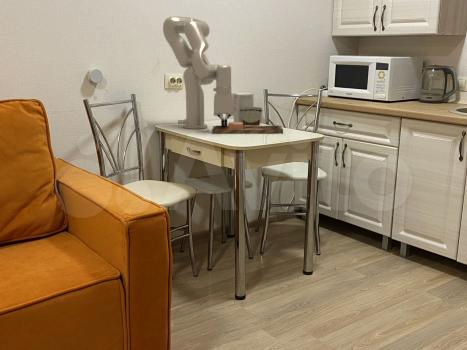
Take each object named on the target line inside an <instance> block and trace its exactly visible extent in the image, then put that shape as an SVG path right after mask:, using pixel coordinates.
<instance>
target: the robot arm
mask: <svg viewBox="0 0 467 350" xmlns="http://www.w3.org/2000/svg"><path fill="white" fill-rule="evenodd" d="M162 32H163V36H164V38H165V40H166V42H167V43H168V45H169V47H170V49H171V50H172V53H173V54H174V56H175V59H176V60H177V62H178V63H179V66H180V67H181V68H183V69H185V70H184V71H183V83H184V87H185V110H186V111H185V117H186V118H185V119H178V120H177V123H178V124H179V125H181V124H182V125H183V128H184V129H190V130H191V129H192V130H198V129H206V128H208V125H207V124H206V123H205V93H204V89H203V88H202V86H206V85H210V84H212V83H213V82H214V81H216V82H215V84H216V85H215V88H213V89H212V90H213V92H215V93H214V97H213V116H215V117H218V118H219V119H220V121H221V122H220V124H221V125H220V126H223V128H224V127H225V128H226V126H228V120H229V118H230V117H234V115H235V113H234V95H233V94H234V93H232V67H231V66H230V65H227V64H226V65H225V64H224V65H220V64H210V61H209V59H208V58H207V56H206V54H205V52H206V51H207V50H208V49H209V46H210V45H209V43H208V41H207V37H208V36H209V34H210V26H209V25H208V23H206V21H204V20H200V19H197V18H193V17H190V16H169V17H167V18H165V20H164V21H163V25H162ZM180 34H184V35H185V36H186V37H185V38H186V39H187V41H188V43H189V45H190V47H191V48H190V47H189V45H188V43H187V41H186V40H185V38H184V37H182V35H180ZM224 115H225V117H224Z"/></svg>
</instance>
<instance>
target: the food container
mask: <svg viewBox="0 0 467 350" xmlns="http://www.w3.org/2000/svg"><path fill="white" fill-rule="evenodd" d="M240 112H241V118H242V122H243V126H261V118H262V113H263V108H262V107H259V106H254V107H242V108H241V109H240Z"/></svg>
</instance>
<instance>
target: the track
mask: <svg viewBox="0 0 467 350" xmlns="http://www.w3.org/2000/svg"><path fill="white" fill-rule="evenodd" d="M279 133H281V134H280V135H282V134H284V128H283V126H282V125H260V126H243V129H228V125H227V126H226V128H225V127H224V128H223V126H221V125H213V126H212V132H211V134H212V135H213V134H221V135H222V134H225V135H227V134H235V135H236V134H237V135H238V134H240V135H241V134H245V135H247V134H254V135H255V134H257V135H258V134H259V135H260V134H261V135H262V134H263V135H265V134H266V135H267V134H270V135H271V134H272V135H275V134H278V135H279Z"/></svg>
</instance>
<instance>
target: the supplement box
mask: <svg viewBox="0 0 467 350" xmlns="http://www.w3.org/2000/svg"><path fill="white" fill-rule="evenodd" d="M233 97H234V113H235V115H234V116H233V122H242V118H241V112H240V109H241V108H242V107H255V105H254V99H255V98H254V94H253V93H251V92H234V93H233Z"/></svg>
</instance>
